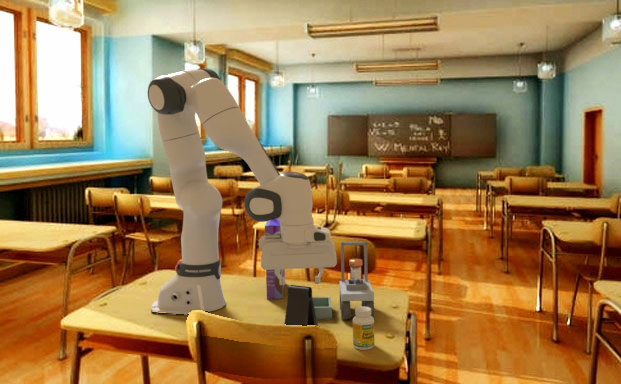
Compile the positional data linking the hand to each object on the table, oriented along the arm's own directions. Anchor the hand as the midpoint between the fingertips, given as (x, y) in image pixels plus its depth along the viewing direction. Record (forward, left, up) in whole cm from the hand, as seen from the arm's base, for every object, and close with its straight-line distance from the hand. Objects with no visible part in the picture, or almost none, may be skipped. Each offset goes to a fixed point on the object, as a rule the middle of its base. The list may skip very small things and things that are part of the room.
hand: (300, 283), depth 144 cm
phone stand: (0, 0, -13) cm, 13 cm away
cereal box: (-9, +35, -13) cm, 39 cm away
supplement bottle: (+16, -12, -13) cm, 24 cm away
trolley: (+16, +12, -13) cm, 24 cm away
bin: (+4, +12, -13) cm, 18 cm away
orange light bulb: (+16, +12, -5) cm, 20 cm away
